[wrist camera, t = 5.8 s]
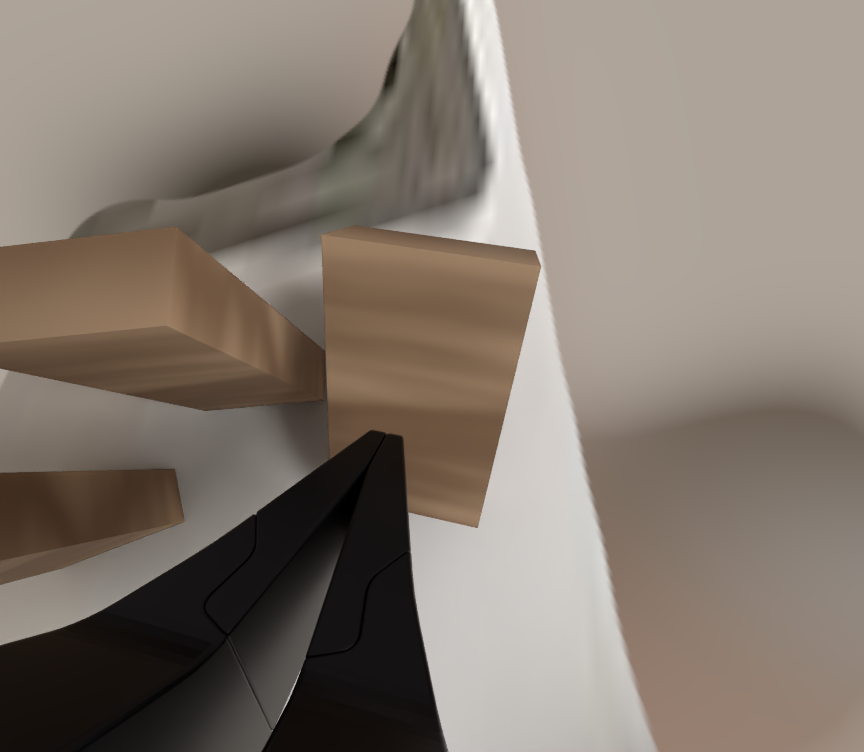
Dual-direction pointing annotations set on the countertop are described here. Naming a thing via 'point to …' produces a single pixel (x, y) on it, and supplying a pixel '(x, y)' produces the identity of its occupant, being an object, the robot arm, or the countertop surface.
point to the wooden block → (425, 354)
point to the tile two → (79, 515)
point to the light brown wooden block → (150, 323)
